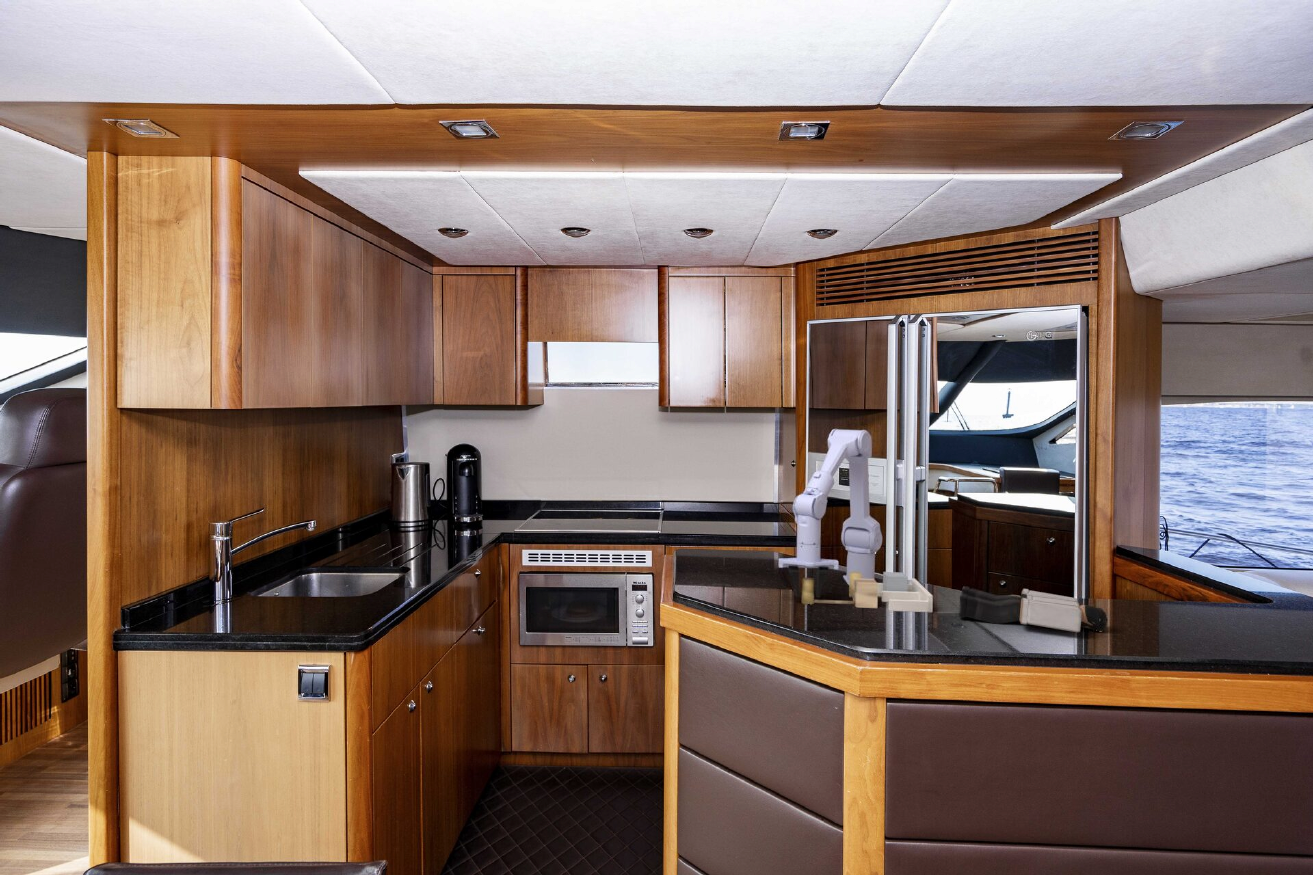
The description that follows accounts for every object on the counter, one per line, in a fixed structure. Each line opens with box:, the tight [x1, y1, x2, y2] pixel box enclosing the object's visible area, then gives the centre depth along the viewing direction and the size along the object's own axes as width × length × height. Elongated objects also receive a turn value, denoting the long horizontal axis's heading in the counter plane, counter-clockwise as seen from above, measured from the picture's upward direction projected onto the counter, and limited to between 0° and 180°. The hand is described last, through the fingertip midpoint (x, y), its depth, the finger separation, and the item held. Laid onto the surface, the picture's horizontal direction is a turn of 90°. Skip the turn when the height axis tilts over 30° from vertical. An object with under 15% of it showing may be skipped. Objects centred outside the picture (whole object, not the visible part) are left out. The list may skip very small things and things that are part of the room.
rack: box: [877, 577, 934, 613], centre depth 183 cm, size 17×10×4 cm, turn 174°
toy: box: [958, 585, 1109, 633], centre depth 167 cm, size 19×7×30 cm
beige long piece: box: [801, 577, 879, 609], centre depth 181 cm, size 5×18×6 cm, turn 84°
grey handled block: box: [848, 571, 909, 598], centre depth 188 cm, size 5×14×6 cm, turn 84°
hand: (807, 596), depth 182 cm, fingers open, 4 cm apart
